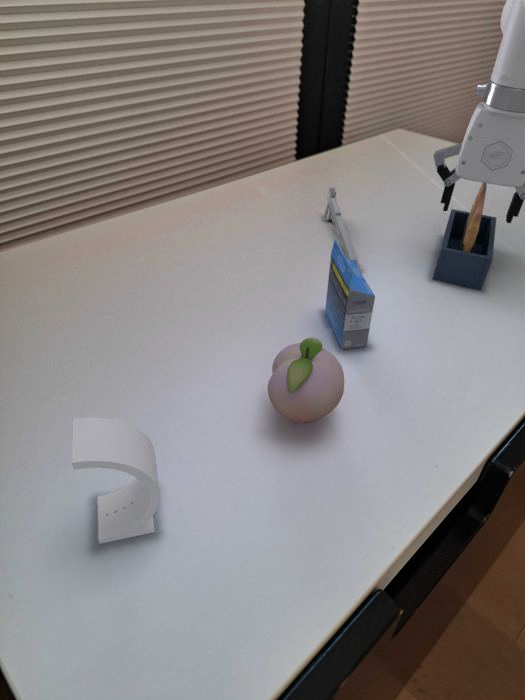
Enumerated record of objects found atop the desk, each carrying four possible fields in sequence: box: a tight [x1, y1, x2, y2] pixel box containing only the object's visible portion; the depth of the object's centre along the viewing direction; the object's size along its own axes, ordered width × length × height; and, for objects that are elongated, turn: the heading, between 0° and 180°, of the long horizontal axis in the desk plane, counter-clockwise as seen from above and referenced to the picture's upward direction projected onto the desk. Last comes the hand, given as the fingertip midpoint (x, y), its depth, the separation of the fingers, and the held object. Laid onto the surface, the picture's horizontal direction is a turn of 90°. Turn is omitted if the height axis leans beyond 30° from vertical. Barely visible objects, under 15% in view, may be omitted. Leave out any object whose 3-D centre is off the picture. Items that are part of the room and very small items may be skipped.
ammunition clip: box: [458, 182, 488, 253], centre depth 82 cm, size 11×2×12 cm, turn 158°
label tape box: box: [324, 236, 376, 350], centre depth 68 cm, size 9×4×12 cm, turn 9°
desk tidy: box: [431, 208, 497, 291], centre depth 85 cm, size 8×16×6 cm, turn 158°
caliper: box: [324, 187, 359, 268], centre depth 89 cm, size 20×1×6 cm, turn 8°
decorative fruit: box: [267, 337, 345, 424], centre depth 56 cm, size 9×8×10 cm
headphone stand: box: [71, 416, 161, 545], centre depth 45 cm, size 5×6×12 cm
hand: (476, 213), depth 81 cm, fingers open, 9 cm apart
